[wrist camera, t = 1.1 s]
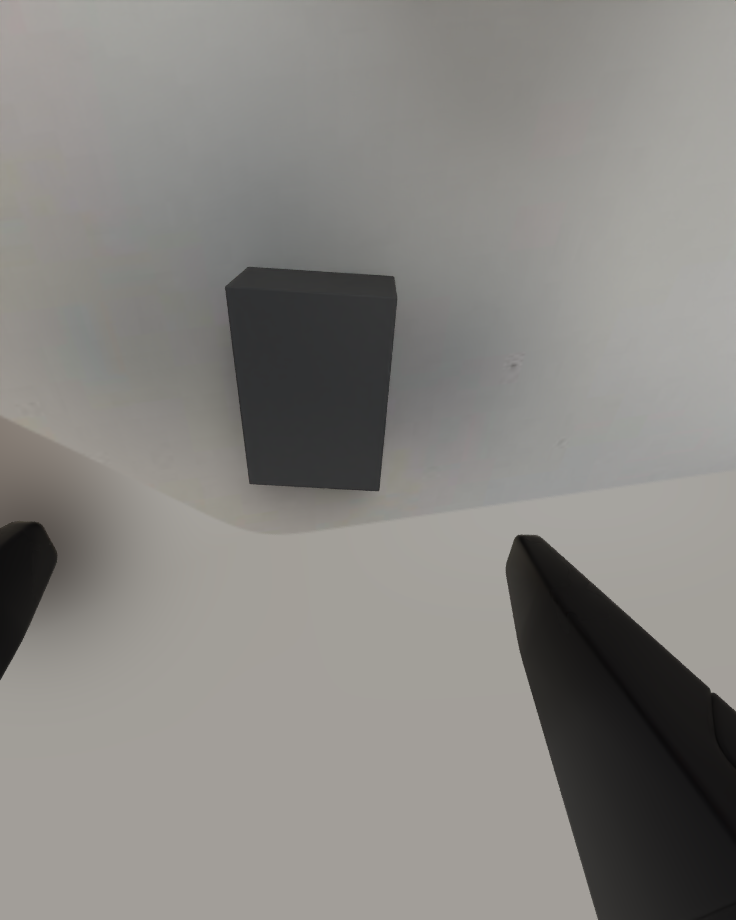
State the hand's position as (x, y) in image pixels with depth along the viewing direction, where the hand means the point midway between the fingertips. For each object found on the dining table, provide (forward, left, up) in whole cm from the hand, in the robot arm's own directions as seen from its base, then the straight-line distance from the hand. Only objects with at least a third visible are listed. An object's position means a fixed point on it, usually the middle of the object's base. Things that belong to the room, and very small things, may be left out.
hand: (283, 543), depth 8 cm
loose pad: (-1, 0, -11) cm, 12 cm away
